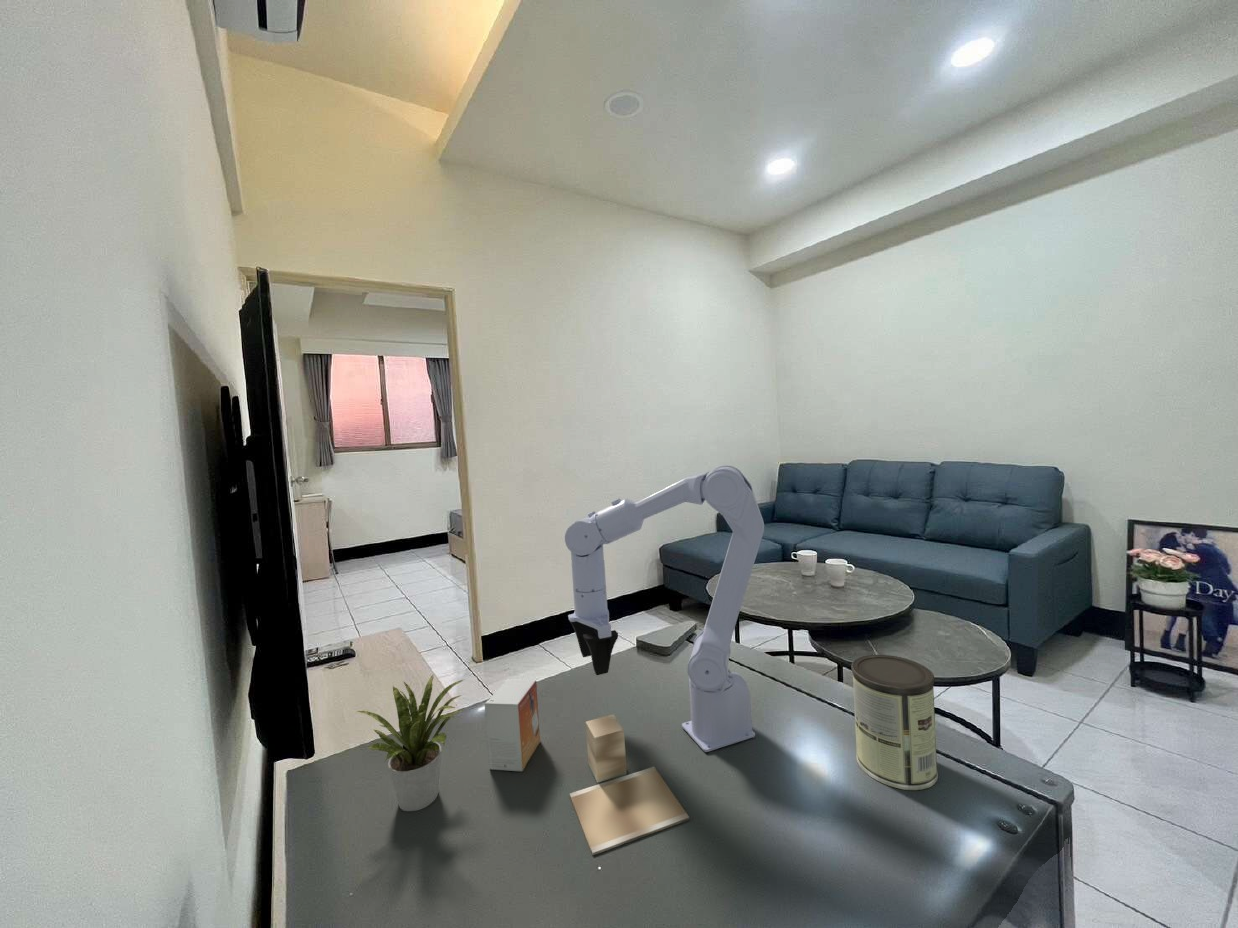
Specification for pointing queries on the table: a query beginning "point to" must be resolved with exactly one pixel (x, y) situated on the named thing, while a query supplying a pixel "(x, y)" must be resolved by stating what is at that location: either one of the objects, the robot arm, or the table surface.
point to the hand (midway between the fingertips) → (594, 664)
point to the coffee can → (895, 721)
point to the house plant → (414, 747)
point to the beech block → (606, 749)
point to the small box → (512, 725)
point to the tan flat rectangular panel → (626, 809)
